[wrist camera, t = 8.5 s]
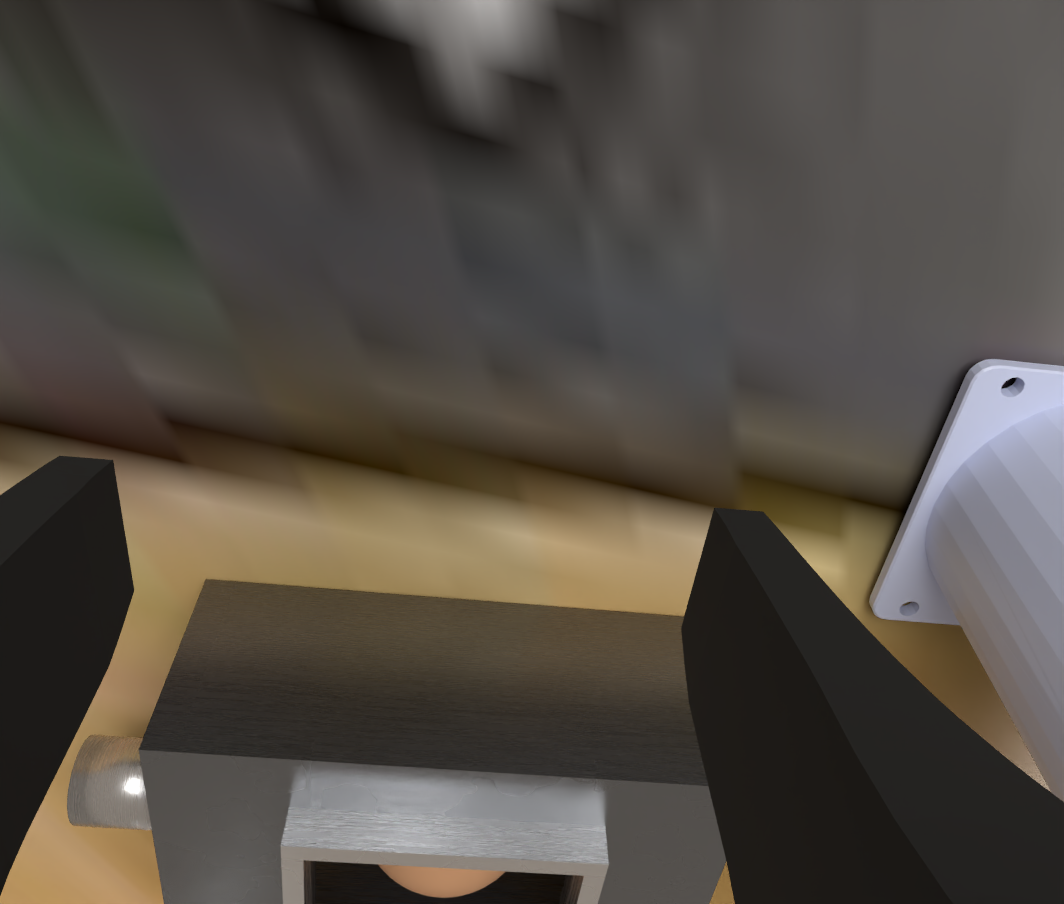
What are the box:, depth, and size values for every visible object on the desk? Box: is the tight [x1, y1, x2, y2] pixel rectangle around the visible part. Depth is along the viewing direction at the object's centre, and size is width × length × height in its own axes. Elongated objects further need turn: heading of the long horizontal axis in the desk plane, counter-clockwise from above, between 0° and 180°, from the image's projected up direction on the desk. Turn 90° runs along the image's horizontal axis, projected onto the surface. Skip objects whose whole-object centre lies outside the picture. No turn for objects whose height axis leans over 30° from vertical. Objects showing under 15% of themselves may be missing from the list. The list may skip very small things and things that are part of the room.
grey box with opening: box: [67, 579, 726, 904], centre depth 26 cm, size 17×11×7 cm, turn 83°
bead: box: [378, 864, 506, 898], centre depth 27 cm, size 5×5×5 cm
